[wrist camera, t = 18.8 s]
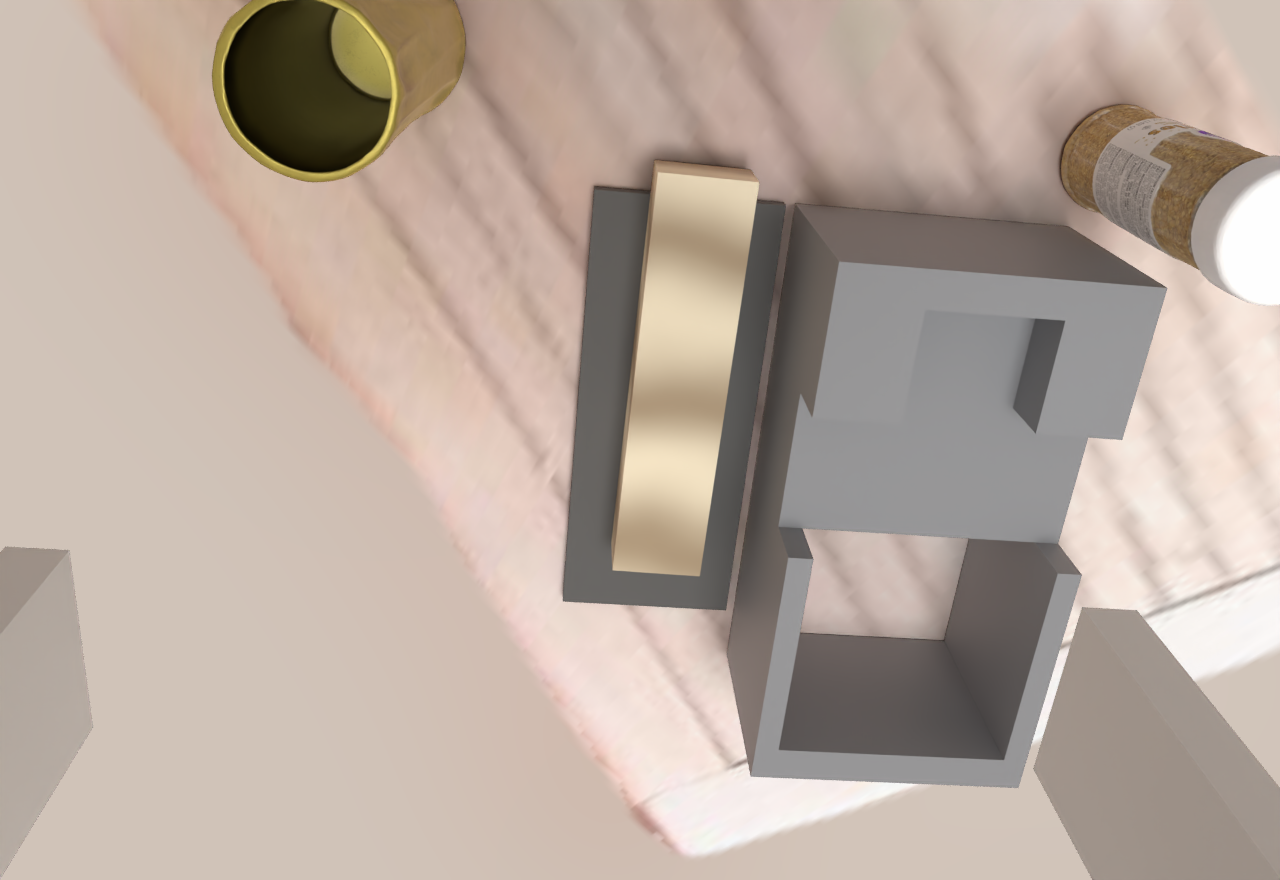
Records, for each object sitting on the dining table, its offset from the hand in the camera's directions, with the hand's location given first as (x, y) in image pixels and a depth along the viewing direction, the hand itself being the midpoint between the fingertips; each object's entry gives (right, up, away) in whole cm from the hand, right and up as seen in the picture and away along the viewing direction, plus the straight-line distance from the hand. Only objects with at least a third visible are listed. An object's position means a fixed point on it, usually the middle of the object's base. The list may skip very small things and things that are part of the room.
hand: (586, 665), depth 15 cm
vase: (-9, +19, +29) cm, 36 cm away
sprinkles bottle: (+20, +15, +33) cm, 41 cm away
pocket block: (+12, +2, +38) cm, 40 cm away
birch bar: (+2, +6, +35) cm, 35 cm away
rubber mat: (+2, +4, +36) cm, 37 cm away
